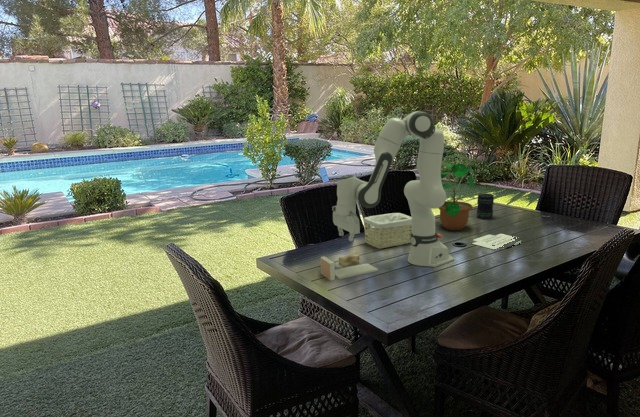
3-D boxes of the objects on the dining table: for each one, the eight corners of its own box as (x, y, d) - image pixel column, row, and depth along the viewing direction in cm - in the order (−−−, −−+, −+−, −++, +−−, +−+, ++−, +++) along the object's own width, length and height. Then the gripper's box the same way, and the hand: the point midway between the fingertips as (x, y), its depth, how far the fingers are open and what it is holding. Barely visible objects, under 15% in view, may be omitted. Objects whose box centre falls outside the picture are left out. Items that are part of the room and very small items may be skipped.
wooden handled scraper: (355, 261, 231) (355, 253, 230) (360, 264, 227) (360, 256, 226) (324, 267, 224) (324, 259, 223) (329, 270, 220) (329, 262, 219)
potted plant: (441, 219, 304) (443, 158, 294) (483, 227, 283) (486, 162, 274) (412, 228, 283) (414, 163, 274) (455, 238, 263) (458, 168, 254)
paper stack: (465, 243, 255) (466, 237, 254) (494, 235, 272) (495, 229, 271) (499, 252, 239) (500, 245, 239) (528, 243, 256) (529, 237, 255)
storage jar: (491, 216, 308) (493, 193, 304) (493, 220, 298) (494, 197, 295) (475, 215, 310) (477, 193, 307) (477, 219, 301) (478, 196, 297)
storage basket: (397, 236, 270) (398, 211, 267) (415, 243, 256) (416, 217, 252) (362, 242, 260) (362, 217, 256) (378, 251, 246) (378, 223, 242)
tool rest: (367, 265, 225) (367, 263, 225) (377, 271, 217) (377, 269, 217) (330, 272, 217) (330, 270, 217) (339, 279, 209) (339, 277, 209)
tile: (324, 272, 217) (324, 256, 215) (334, 279, 209) (334, 262, 207) (320, 273, 216) (320, 257, 215) (330, 280, 208) (330, 263, 206)
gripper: (363, 213, 213) (362, 243, 216) (342, 205, 231) (341, 232, 234) (351, 215, 210) (350, 244, 213) (330, 206, 228) (330, 233, 231)
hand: (346, 238), depth 224 cm, fingers open, 8 cm apart
